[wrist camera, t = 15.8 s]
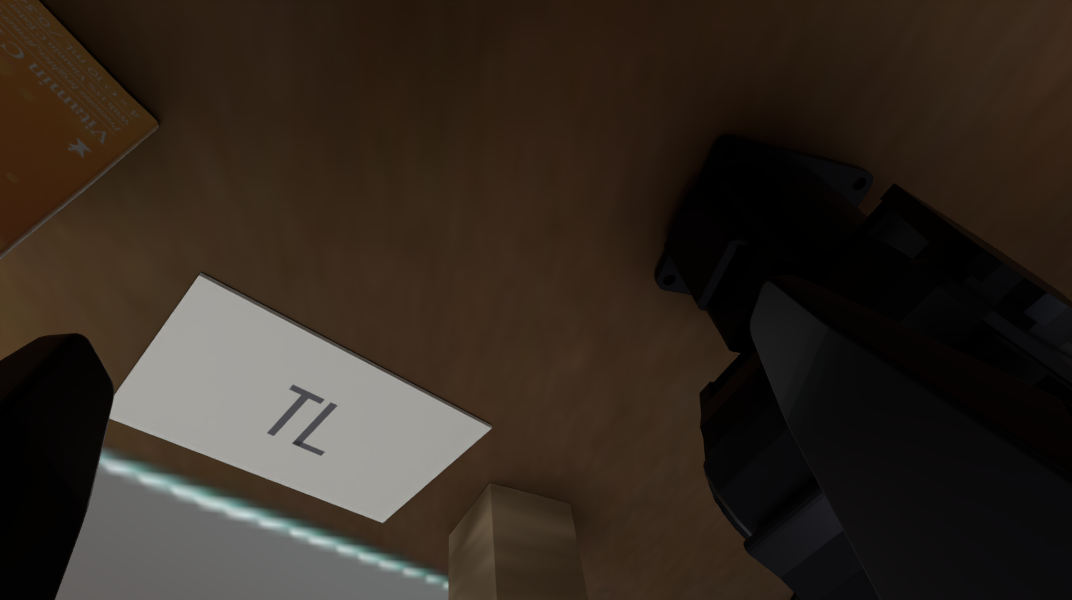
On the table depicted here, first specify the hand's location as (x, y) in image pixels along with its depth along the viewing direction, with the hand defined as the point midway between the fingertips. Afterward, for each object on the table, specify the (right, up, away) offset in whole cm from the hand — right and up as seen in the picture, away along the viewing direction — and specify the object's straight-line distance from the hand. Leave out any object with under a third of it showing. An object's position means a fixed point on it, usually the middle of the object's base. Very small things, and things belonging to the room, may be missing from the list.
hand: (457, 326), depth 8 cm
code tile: (-9, -5, +19) cm, 21 cm away
